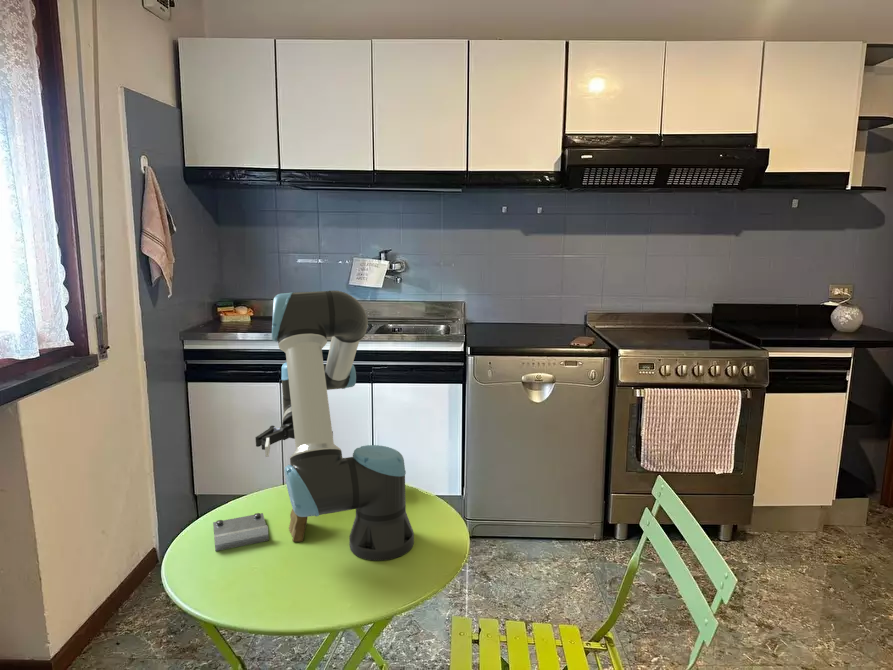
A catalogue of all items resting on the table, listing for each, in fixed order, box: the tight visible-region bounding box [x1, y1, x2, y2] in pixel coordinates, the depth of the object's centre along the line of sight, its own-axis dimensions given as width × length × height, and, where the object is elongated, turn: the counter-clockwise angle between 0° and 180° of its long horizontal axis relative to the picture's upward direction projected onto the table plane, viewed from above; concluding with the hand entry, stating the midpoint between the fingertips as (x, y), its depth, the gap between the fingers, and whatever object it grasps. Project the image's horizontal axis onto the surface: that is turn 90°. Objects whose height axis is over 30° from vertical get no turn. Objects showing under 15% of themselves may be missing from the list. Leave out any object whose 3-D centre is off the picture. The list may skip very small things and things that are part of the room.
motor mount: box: [212, 512, 270, 552], centre depth 147 cm, size 12×12×4 cm
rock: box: [288, 508, 309, 543], centre depth 148 cm, size 11×9×10 cm
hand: (294, 449), depth 155 cm, fingers open, 13 cm apart
